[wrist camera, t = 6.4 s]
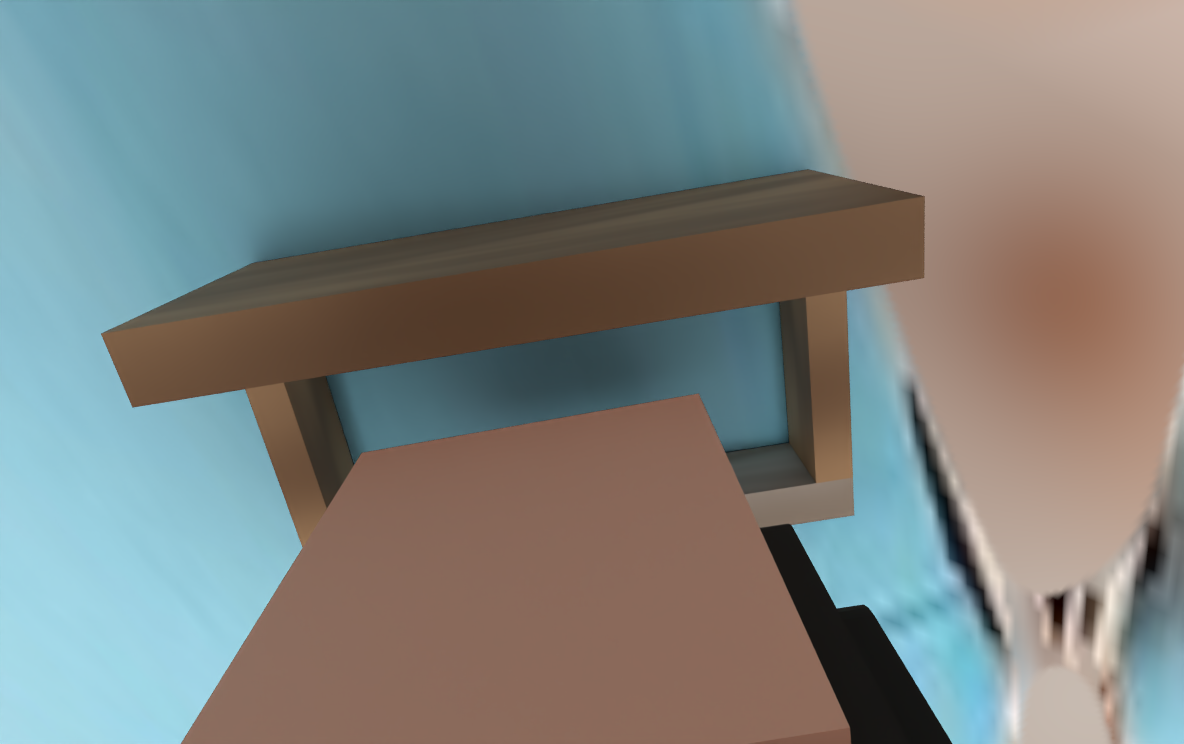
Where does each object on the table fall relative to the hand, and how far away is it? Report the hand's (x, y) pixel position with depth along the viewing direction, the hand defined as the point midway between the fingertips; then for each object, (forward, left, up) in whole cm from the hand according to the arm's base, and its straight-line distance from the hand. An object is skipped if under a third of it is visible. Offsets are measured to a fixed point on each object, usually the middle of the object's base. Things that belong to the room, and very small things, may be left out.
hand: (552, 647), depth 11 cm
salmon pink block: (-1, 0, -3) cm, 3 cm away
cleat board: (0, 0, -11) cm, 11 cm away
